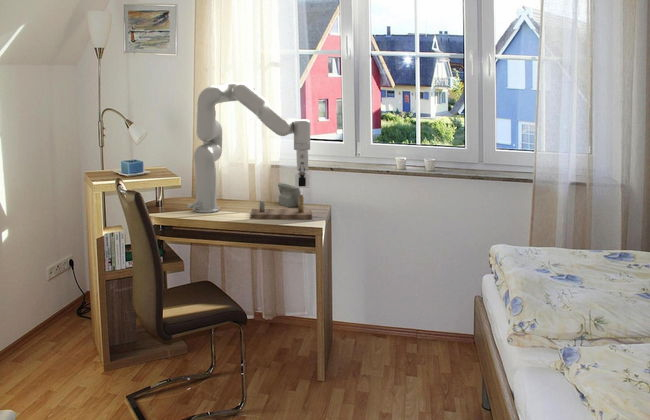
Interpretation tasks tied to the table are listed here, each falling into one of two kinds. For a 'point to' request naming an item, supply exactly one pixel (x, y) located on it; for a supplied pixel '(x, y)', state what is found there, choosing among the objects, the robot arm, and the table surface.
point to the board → (282, 212)
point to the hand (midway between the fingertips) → (301, 184)
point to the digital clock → (288, 194)
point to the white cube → (298, 181)
